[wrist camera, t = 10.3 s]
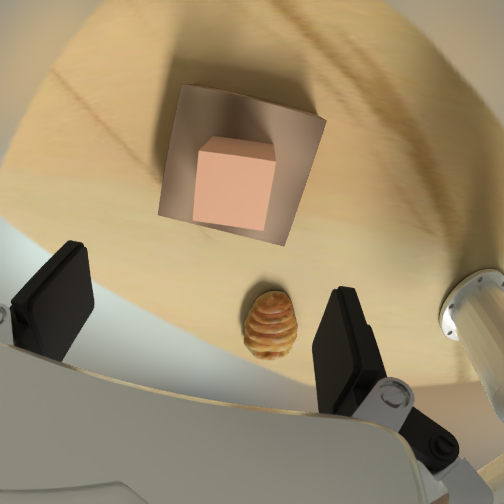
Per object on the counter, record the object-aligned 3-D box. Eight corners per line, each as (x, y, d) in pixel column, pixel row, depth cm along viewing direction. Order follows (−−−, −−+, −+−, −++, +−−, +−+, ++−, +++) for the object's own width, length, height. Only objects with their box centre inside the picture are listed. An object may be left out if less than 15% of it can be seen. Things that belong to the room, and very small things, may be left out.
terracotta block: (273, 144, 25) (276, 161, 20) (263, 200, 28) (263, 231, 23) (213, 136, 25) (198, 150, 20) (206, 192, 28) (192, 220, 22)
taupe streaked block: (317, 115, 28) (326, 120, 24) (282, 223, 34) (284, 246, 30) (194, 84, 27) (181, 84, 23) (171, 196, 33) (157, 215, 29)
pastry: (245, 285, 38) (243, 306, 35) (302, 287, 38) (305, 308, 35) (244, 341, 43) (242, 362, 39) (293, 343, 43) (295, 364, 39)
